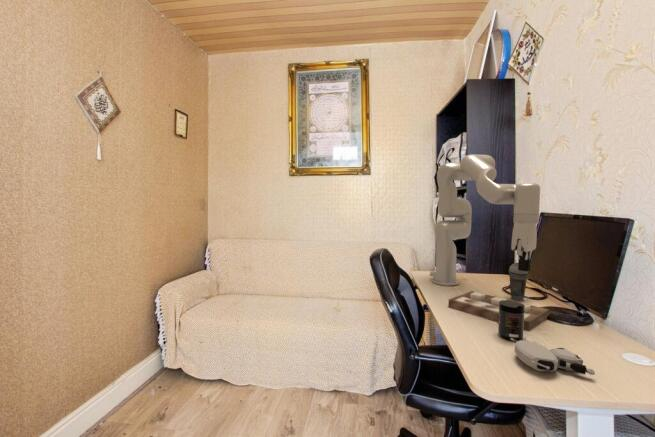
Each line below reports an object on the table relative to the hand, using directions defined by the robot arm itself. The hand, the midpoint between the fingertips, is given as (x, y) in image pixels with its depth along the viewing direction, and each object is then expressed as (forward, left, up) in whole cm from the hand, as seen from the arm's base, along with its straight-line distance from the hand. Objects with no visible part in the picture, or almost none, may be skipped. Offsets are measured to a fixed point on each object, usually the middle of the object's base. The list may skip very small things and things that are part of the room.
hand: (524, 270), depth 109 cm
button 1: (-16, 0, -15) cm, 22 cm away
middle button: (-8, 0, -15) cm, 17 cm away
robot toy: (+17, -30, -18) cm, 39 cm away
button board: (-8, -2, -17) cm, 19 cm away
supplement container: (+4, -20, -17) cm, 27 cm away
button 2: (0, 0, -15) cm, 15 cm away
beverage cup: (-9, +20, -17) cm, 28 cm away
